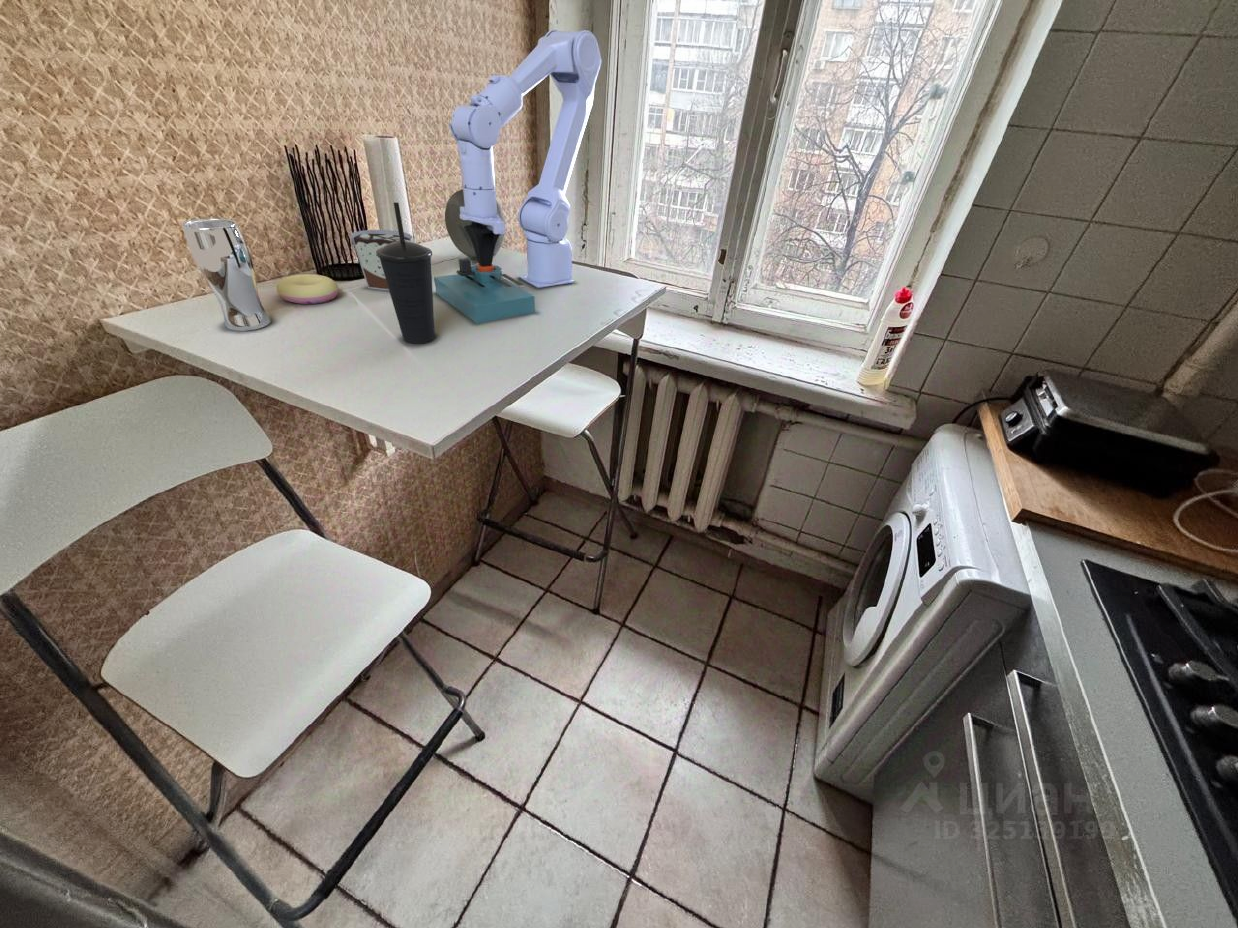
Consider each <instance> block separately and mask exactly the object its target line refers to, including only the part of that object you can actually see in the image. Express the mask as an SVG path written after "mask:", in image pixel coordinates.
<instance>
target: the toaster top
mask: <svg viewBox="0 0 1238 928" xmlns="http://www.w3.org/2000/svg"><path fill="white" fill-rule="evenodd" d="M454 275H455V274H454ZM500 275H502V278H504V279H506V280H507V281H509V282H511V283H513V284H514V285H516V286H524V284H523V283H522V282H521V281H518V280H517V279H516V278H513V277H511V276H510V275H508V274H506V273H502V274H500ZM455 276H458V275H455ZM465 277H466V278H468V279H470V280H471V281H473V282H474V283H476V284H477V285H479V286H480V287H485V286H484V285H482V284H481V283H479V282H477V281H476V280H474V279H473V278H471V277H469V276H468V275H467V276H465ZM489 277H491V278H493V279H494V280H496V281H498V282H499V283H501V284H503V285H504V286H506V287H512V286H511V285H509V284H508V283H506V282H504V281H502V280H501V279H499V278H497V277H496V276H494V275H492V276H489Z"/></svg>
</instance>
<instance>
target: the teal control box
mask: <svg viewBox="0 0 1238 928" xmlns="http://www.w3.org/2000/svg"><path fill="white" fill-rule="evenodd" d="M477 265H478V264H474V265H471V269H472V270H473V271H474V272H475V275H468V276H469V277H471V278H473V279H474V280H476V281H477V282H479V283H481V284H482V285H484V286H485V287H480V286H479V285H477V284H476V283H474V282H473V281H471V280H470V279H468V278H466V277H465V276H460V275H459V274H457V273H456V274H448V275H440V276H439V275H438V276H434V277H433V279H434V280H433V281H434V286H435V293H436V294H437V295H438V296H439V297H441V298H442V299H443V300H444V301H446V302H448V304H450V305H451V306H453V307H454V308H456V309H457V310H458V311H459V312H461V313H462V314H464V316H466V317H467V318H469V319H471V321H473V322H474V323H476V324H479V323H485V322H491V321H496V320H502V319H507V318H512V317H518V316H523V315H529V314H536V313H535V312H536V308H535V307H536V305H535V304H536V303H535V295H533V294H532V293H530V292H528V291H526V290H524V289H523V288H521V287H519V285H517V284H515V283H513V282H512V281H510V280H508V279H507V278H505V277H503V276H502V275H500V274H503V268H502V267H500V266H499V265H495V264H493V265H494V271H489V272H486V271H478V268H477ZM455 275H458V276H455ZM492 275H494V276H496V277H497V278H499V279H501V280H502V281H504V282H506V283H508V284H509V285H511V286H512V287H506V286H504V285H503V284H501V283H499V282H498V281H496V280H494V279H493V278H491V277H489V276H492Z"/></svg>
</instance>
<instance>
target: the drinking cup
mask: <svg viewBox="0 0 1238 928" xmlns="http://www.w3.org/2000/svg"><path fill="white" fill-rule="evenodd" d="M393 208H394V214H395V221H396V227H397V231H399V237H400V241H398V242H393V243H390V244H387V245H385V246H384V247H382V248H379V249H378V250H377V251H376V254H377V256H378V257H379V258H380V261H381V264H382V268H383V271H384V275H385V278H386V281H387V285H388V288H389V290H388V291H389V295H390V298H391V301H392V305H393V308H394V312H395V315H396V318H397V322H398V326H399V328H400V329H399V330H400V333H401V335H402V339H403V341H404V342H405V343H406V344H409V345H415V346H421V345H427V344H430V343H432V342H434V341H435V340H436V331H435V314H434V313H435V312H434V293H433V292H434V291H433V276H432V256H433V251H432V249H430V248H428V247H426V246H424V245H421V244H419V243H416V242H415V243H413V242H408V241H405V237H404V232H405V231H404V226H403V220H402V214H401V208H400V203H399V202H393Z"/></svg>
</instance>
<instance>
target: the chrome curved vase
mask: <svg viewBox="0 0 1238 928" xmlns="http://www.w3.org/2000/svg"><path fill="white" fill-rule="evenodd" d="M180 226H181V228H182V230H183V231H182V232H183V234H184V238H185V240H186V244H187V246H188V249H189V251H190V254H191V256H192V258H193V260H194V263H195V265H196V267H197V269H198V271H199V272H200V274H201V276H202V277H203V279H204V280H205V282H206V283H207V285H208V286H209V288H210V289H211V291H212V293H213V295H214V296H215V297H216V299H217V302H218V303H219V306H220V308H221V311H222V317H223V322H224V325H225V327H226V328H227V329H229V330H230V331H235V332H245V331H246V332H247V331H254V330H260V329H263V328H265V327H267V326H269V325H270V324H271V318H270V316H269V315H268V313H267V311H266V309H265V307H264V306H263V304H262V302H261V299H260V295H259V290H258V286H257V279H256V273H255V267H254V263H253V259H252V256H251V253H250V249H249V248H248V244H247V242H246V241H245V238H244V236H243V234H242V231H241V229H240V227H239V225H238V222H237V221H236V220H233V219H229V218H228V219H227V218H198V219H191V220H186V221H184V222H182V223H181V224H180Z"/></svg>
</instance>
